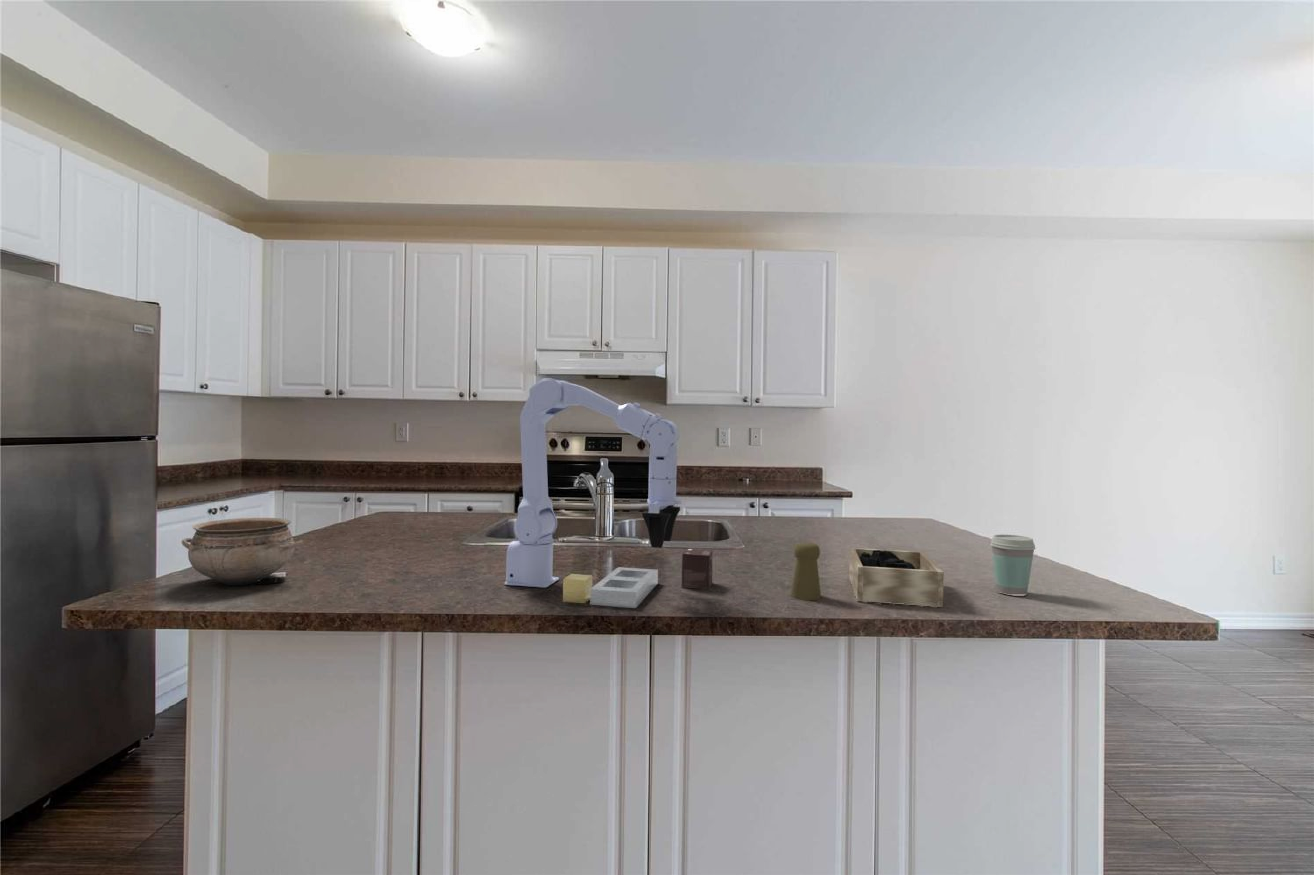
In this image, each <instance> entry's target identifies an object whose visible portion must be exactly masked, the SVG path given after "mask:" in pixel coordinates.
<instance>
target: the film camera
mask: <svg viewBox="0 0 1314 875" xmlns="http://www.w3.org/2000/svg"><path fill="white" fill-rule="evenodd" d="M880 550H881V549H879V550H873V553H872V554H871V555H870V554H869V553H865V552H863V553H861V556H860V557H859V559H860V561H861V563H862V565H863V566H868V567H884V568H901V569H915V567H914V566H913V565H912V564H911V563H909V562H905V561H904V560H903V559H901V560H900V559H899V558H898V557H897V556H896V555H894V554H893V553H892V552H890V551H886V550H887V549H883V550H884V551H880Z"/></svg>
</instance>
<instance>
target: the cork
mask: <svg viewBox="0 0 1314 875" xmlns="http://www.w3.org/2000/svg"><path fill="white" fill-rule="evenodd" d="M793 553H794V557H795V558H796V561H795V567H794V573H793V580H792V584H791V586H792V587H791V590H790V592H791V593H790V596H791V597H792V598H793V599H797V600H802V601H817V600H821V599H822V594H821V586H820V577H819V567H818V566H819V565H818V559H819V558H820V555H821V549H820V547H819V545H817V544H816V543H813V542H810V541H809V542H808V541H805V542H798V543H796V544H795V546H794V548H793Z"/></svg>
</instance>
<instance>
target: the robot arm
mask: <svg viewBox="0 0 1314 875" xmlns="http://www.w3.org/2000/svg"><path fill="white" fill-rule="evenodd" d="M528 391H529V393H528V394H529V395H528V397H527V400H526V401H525V403H524V406H523V408H522V410H521V412H520V415H519V422H520V443H521V444H520V449H521V472H522V474H521V475H522V495H523V496H522V497H523V498H522V499H521V501H520V503H519V504H518V507H517V517H516V520H515V522H514V526H513V531H514V533H515V536H516V537H517V539H518V540H512V541H511V542H509V544H508V546H507V550H506V557H505V558H506V560H505V563H506V564H505V565H506V566H505V567H506V568H505V582H504V585H505V586H506V585H507V586H521V587H531V588H532V587H533V588H534V587H535V588H544V589H545V588H547V587H549V586H552V584H554V583H555V582H557V581H558V580H560V577H559V576H553V571H554V570H553V565H554V564H553V560H554V558H553V557H554V554H553V553H554V538H553V534H554V533H555V532H556V529H557V527H558V518H557V516H556V514H555V512H554V506H553V502H552V499H550V497H549V486H548V482H549V481H548V460H547V459H548V458H547V453H548V452H547V433H546V431H547V430H546V428H547V427H546V424H547V423H548V422H549V421H550V420H551V419H552V418H554V416H555V415H557V414H559V413H561V412H562V411H564V410H567V409H568V408H570V407H571V406H584V407H586V408H588V409H590V410H592V411H595V412H597V413H600V414H602V415H604V416H606V417H609V418H611V419H613V420H614V421H615V422H614V423H615V424H616V427H617V428H618V429H620V430H622V431H624V432H626V433H628V434H631V435H632V436H635V437H637V438H638V439H641V440H643V441H647V443H648V444H649V456H648V494H647V496H648V498H647V500H646V501H647V505H648V510H646V511H645V510H644V511H642V512H641V517H642V519H643V520H644V523H645V526H646V528H647V532H648V536H649V542H650V546H651V548H658V549H659V548H660V549H662V548H663V546H664V542H671V540H672V536H673V531H674V527H675V523H676V520H677V518H678V515H679V512H681V507H680V506H674V505H681V504H683V503H682V502H683V501H682V499H677V468H678V467H677V465H678V463H677V462H678V457H677V442H678V441H679V438H680V430H679V427H678V425H677V424H676V423H674V422H673V421H672V420H671V419H667V418H666V419H665V418H664V419H661V417H662V415H661V414H659V413H658V412H657V413H655V414H654V413H652V412H650V411H648V410H646V409H643V408H641V407H642V405H641V404H640V403H638V402H633V403H631V402H627V403H625V404H622V405H621V404H619V403H617V402H614V401H612V400H611V399H610V398H609V399H608V398H607V397H605V396H603V395H601V394H599V393H597V392H595V391H593V390H591V389H589V388H588V387H585V386H583V385H579V384H575V383H570V381H567V380H562V379H560V380H559V379H558V380H557V379H554V378H551V377H544V378H543V377H542V378H541V379H539V380H538V381H536V382H535V383H534V384H533V385H532V386H531V387H530V388H529V390H528Z"/></svg>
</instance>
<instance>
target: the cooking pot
mask: <svg viewBox="0 0 1314 875" xmlns="http://www.w3.org/2000/svg"><path fill="white" fill-rule="evenodd" d="M290 523H291V520H290V519H286V518H278V517H241V518H240V517H239V518H229V519H220V520H219V519H218V520H212V521H205V522H199V523H197V524H194V525H192V529H193V530H194V531H195V533H194V534H193V537H192V538H191V537H186V538H183V539H182V540H181V544H182V546H183V547H184V548H186V549H187V550H188V551H187V556H188V561H189V563H190V565H191V567H192V568H193V569H194V570H195V571H196V572H198V573H199V574H200V575H203V576H205V577H207V578H209V579H212V580H214V581H217V582H219V583H222V584H224V585H226V586H243V585H252V584H255V583H258V582H257V581H258V580H261V579H262V580H264V579H265V578H267V577H268V576H270V575H272V574H274V573H276V572H277V571H279V570H280V569H282V568H283V567H284V566H285V565H287V563H288V562H289V561H290V559H291V558H292V556H293V554H294V551H295V548H297V547H299V546H302V545H303V544H304V540H303V539H300V540H297V541H294V538H293V535H292V532H291V530H290V528H289V526H288V525H289V524H290ZM263 578H264V579H263ZM262 580H261V581H262Z"/></svg>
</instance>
